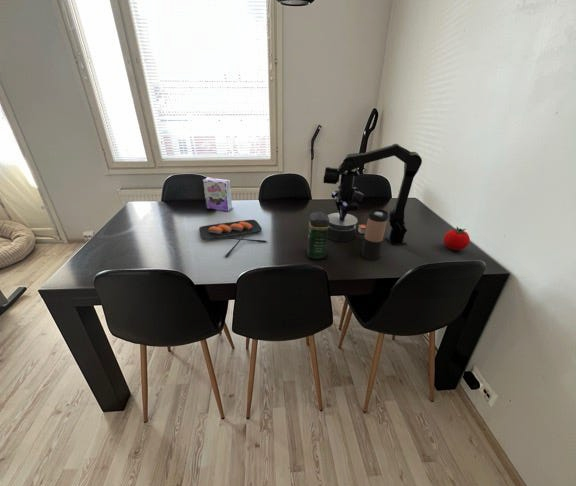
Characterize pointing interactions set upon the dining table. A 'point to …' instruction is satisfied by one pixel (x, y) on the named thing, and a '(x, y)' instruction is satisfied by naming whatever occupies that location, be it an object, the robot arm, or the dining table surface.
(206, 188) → the candy box
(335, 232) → the pan
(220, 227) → the sushi plate
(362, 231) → the sushi
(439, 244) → the dining table surface
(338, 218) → the pan lid
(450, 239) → the tomato
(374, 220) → the travel mug
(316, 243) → the coffee jar
